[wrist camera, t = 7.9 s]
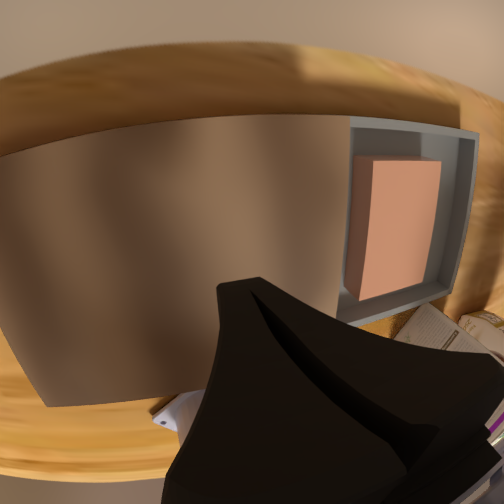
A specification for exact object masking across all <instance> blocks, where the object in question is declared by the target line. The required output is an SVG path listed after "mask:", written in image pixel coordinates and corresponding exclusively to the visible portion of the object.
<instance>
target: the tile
mask: <svg viewBox="0 0 504 504" xmlns="http://www.w3.org/2000/svg"><path fill="white" fill-rule="evenodd" d="M440 173H441V161H438V160H434V159H431V158H427V157H424V156H412V155H353V178H352V197H351V213H350V227H349V239H348V250H347V260H346V270H345V279H344V287H345V288H346V289H347V290H348V291H349V292H350V293H351V294H352V295H353V296H354V297H355V298H356V299H357V300H358V301H361V300H365V299H368V298H372V297H375V296H379V295H382V294H386V293H389V292H392V291H396V290H399V289H402V288H405V287H409V286H412V285H415V284H418V283H421V282H422V281H423V277H424V272H425V268H426V263H427V258H428V253H429V248H430V243H431V238H432V232H433V226H434V220H435V213H436V206H437V199H438V191H439V182H440Z"/></svg>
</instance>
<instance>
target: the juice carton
mask: <svg viewBox="0 0 504 504" xmlns="http://www.w3.org/2000/svg"><path fill="white" fill-rule="evenodd" d="M458 325H459V326H460V327H461V328H463V329H464V330H465V331H466V332H468V333H469V334H470V335H471V336H473V337H474V338H475V339H476V340H478V341H479V342H480V343H481V344H482V345H484V346H485V347H486V348H487V349H488V350H490V351H491V352H492V353H493V354H494V355H495V356H497V357H498V358H499V359H500V360H501V361H502V362H504V319H503V318H501V317H500V316H498V315H496V314H494V313H491V312H489V311H486V310H482V311H478V312H473V313H469V314H465V315H462V316H461V318H460V320H459V322H458Z"/></svg>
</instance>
